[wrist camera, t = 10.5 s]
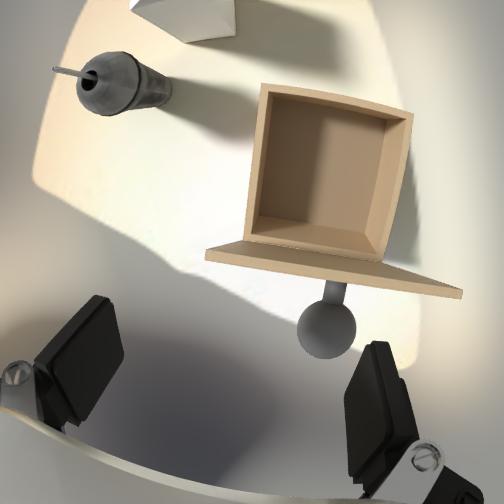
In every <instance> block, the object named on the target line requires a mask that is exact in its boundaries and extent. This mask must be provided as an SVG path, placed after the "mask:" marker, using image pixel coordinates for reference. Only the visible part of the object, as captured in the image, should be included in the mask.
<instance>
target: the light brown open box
mask: <svg viewBox="0 0 504 504" xmlns="http://www.w3.org/2000/svg"><path fill="white" fill-rule="evenodd" d="M413 118H414V114H413V113H410V112H407V111H403V110H400V109H396V108H393V107H389V106H386V105H382V104H378V103H374V102H370V101H366V100H362V99H357V98H353V97H348V96H344V95H339V94H334V93H328V92H323V91H317V90H311V89H305V88H298V87H291V86H284V85H275V84H266V83H261V89H260V97H259V106H258V114H257V122H256V131H255V139H254V148H253V156H252V165H251V173H250V182H249V191H248V200H247V209H246V218H245V227H244V236H243V240H247V241H254V242H260V243H267V244H273V245H279V246H285V247H292V248H298V249H304V250H310V251H316V252H323V253H329V254H335V255H341V256H347V257H353V258H359V259H365V260H371V261H377V262H382V260H383V256H384V253H385V250H386V246H387V243H388V239H389V235H390V232H391V228H392V224H393V220H394V216H395V212H396V208H397V204H398V199H399V195H400V190H401V186H402V181H403V176H404V171H405V166H406V161H407V156H408V150H409V144H410V138H411V132H412V125H413Z"/></svg>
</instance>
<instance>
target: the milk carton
mask: <svg viewBox="0 0 504 504" xmlns="http://www.w3.org/2000/svg"><path fill="white" fill-rule="evenodd" d="M130 11H132V12H133V13H135V14H137V15H139V16H140V17H142V18H144V19H146V20H147V21H149V22H151V23H152V24H154V25H156V26H157V27H159V28H161V29H162V30H164V31H166V32H167V33H169V34H170V35H172V36H173V37H175V38H177V39H178V40H180V41H181V42H183V43H188V42H193V41H199V40H205V39H212V38H219V37H227V36H235V35H236V24H235V5H234V0H130Z"/></svg>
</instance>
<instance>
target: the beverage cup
mask: <svg viewBox="0 0 504 504" xmlns="http://www.w3.org/2000/svg"><path fill="white" fill-rule="evenodd" d="M51 71H53V72H57V73H62V74H67V75H72V76H77V77H78V79H77V84H76V89H77V95H78V98H79V101H80V102H81V103H82V104H83V106H84V107H85V108H86V109H87V110H89V111H91V112H93V113H95V114H99V115H101V116H114V115H117V114H120V113H122V112H125V111H127V110H134V109H142V108H151V107H156V106H161V105H163V104H164V103H166V102H167V101H168V100H169V98H170V96H171V94H172V84H171V82H170V80H169V79H168V78H166V77H165V76H164V75H162V74H160V73H158V72H156V71H155V70H153V69H151V68H149V67H147V66H145V65H143V64H141V63H140V62H139V61H138V60H137V59H135V58H134V57H133V56H132V55H131V54H129V53H126V52H106V53H103V54H100V55H98V56H95V57H94V58H92V59H91V60H90V61H89V62H87V63H86V65H85V66H84V67H83V69H82V70H81V72H79V71H75V70H71V69H66V68H61V67H56V66H53V67H52V69H51Z"/></svg>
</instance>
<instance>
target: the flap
mask: <svg viewBox="0 0 504 504" xmlns="http://www.w3.org/2000/svg"><path fill="white" fill-rule="evenodd" d="M205 260H206V261H212V262H218V263H224V264H230V265H236V266H242V267H248V268H254V269H260V270H267V271H273V272H279V273H285V274H292V275H298V276H304V277H311V278H317V279H324V280H326V284H325V289H324V294H323V299H322V300H321V301H318V302H315V303H313V304H311V305H310V306H309V307H307V308H306V309H305V310H304V312H303V313H302V315H301V316H300V319H299V321H298V325H297V336H298V339H299V342H300V344H301V346H302V347H303V348H304V350H305V351H306V352H307V353H309V354H310V355H312V356H314V357H316V358H320V359H332V358H335V357H338V356H340V355H342V354H343V353H345V351H347V350H348V349H349V348H350V346H351V345H352V343H353V341H354V339H355V335H356V322H355V318H354V316H353V314H352V312H351V311H350V310H349V309H348V308H347V307H346V306H345V305H343V301H344V297H345V292H346V287H347V283H350V284H357V285H363V286H370V287H377V288H384V289H391V290H398V291H405V292H412V293H419V294H426V295H435V296H441V297H448V298H455V299H461V298H462V294H463V290H462V289H459V288H456V287H453V286H450V285H447V284H445V283H442V282H439V281H436V280H433V279H430V278H427V277H424V276H421V275H418V274H415V273H412V272H409V271H406V270H403V269H400V268H397V267H394V266H391V265H388V264H385V263H381V262H375V261H369V260H363V259H357V258H351V257H345V256H339V255H333V254H327V253H320V252H314V251H308V250H302V249H296V248H290V247H283V246H277V245H271V244H264V243H258V242H252V241H245V240H241V241H237V242H234V243H230V244H226V245H222V246H218V247H214V248H210V249H206V253H205Z"/></svg>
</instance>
